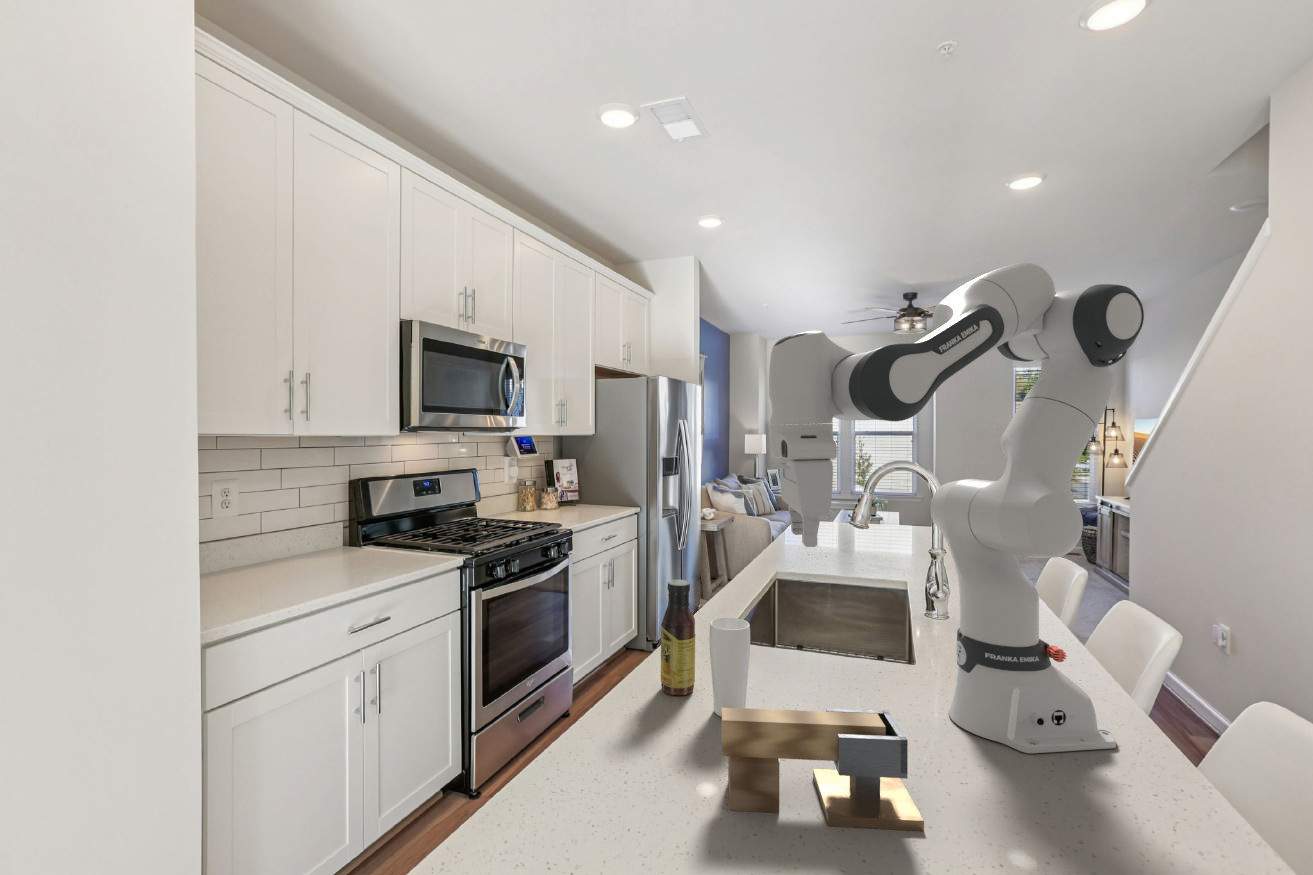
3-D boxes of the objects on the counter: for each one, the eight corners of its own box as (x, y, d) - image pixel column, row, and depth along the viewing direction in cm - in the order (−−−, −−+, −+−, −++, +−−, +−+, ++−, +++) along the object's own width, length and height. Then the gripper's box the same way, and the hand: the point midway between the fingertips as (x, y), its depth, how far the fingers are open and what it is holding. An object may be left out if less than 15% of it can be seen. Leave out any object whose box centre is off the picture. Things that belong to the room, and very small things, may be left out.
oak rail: (722, 755, 75) (722, 720, 75) (721, 741, 78) (721, 707, 78) (885, 763, 73) (885, 726, 73) (877, 748, 77) (877, 713, 77)
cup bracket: (896, 781, 80) (896, 707, 80) (924, 830, 70) (924, 745, 70) (813, 777, 81) (813, 703, 81) (828, 825, 71) (828, 741, 71)
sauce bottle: (659, 683, 111) (659, 577, 111) (692, 682, 112) (692, 576, 112) (662, 699, 105) (662, 586, 104) (697, 697, 105) (697, 585, 105)
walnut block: (773, 784, 79) (773, 739, 79) (779, 812, 73) (779, 764, 73) (728, 781, 80) (728, 737, 79) (730, 810, 74) (730, 761, 74)
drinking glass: (749, 724, 95) (749, 631, 95) (707, 720, 97) (707, 628, 97) (751, 705, 102) (751, 618, 102) (711, 702, 103) (711, 615, 103)
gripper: (770, 443, 97) (772, 528, 97) (790, 446, 76) (792, 554, 76) (809, 442, 96) (811, 527, 96) (840, 445, 76) (842, 553, 76)
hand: (803, 539), depth 86 cm, fingers open, 8 cm apart
